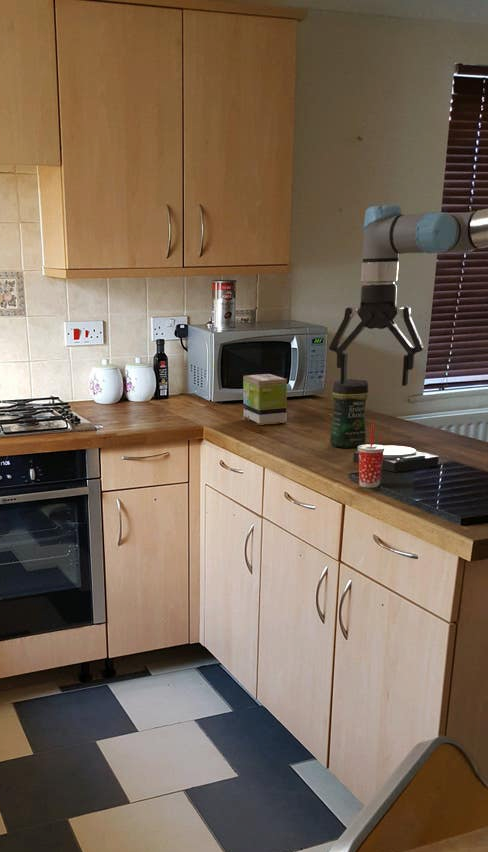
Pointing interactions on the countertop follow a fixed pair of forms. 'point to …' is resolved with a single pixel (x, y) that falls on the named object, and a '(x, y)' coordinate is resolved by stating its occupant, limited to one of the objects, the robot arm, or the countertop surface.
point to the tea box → (265, 398)
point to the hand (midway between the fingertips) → (373, 384)
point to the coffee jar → (349, 413)
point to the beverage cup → (370, 463)
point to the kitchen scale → (404, 459)
